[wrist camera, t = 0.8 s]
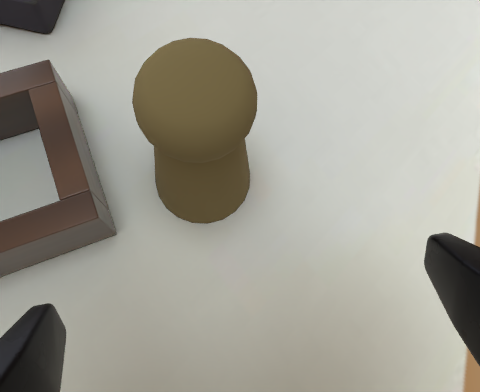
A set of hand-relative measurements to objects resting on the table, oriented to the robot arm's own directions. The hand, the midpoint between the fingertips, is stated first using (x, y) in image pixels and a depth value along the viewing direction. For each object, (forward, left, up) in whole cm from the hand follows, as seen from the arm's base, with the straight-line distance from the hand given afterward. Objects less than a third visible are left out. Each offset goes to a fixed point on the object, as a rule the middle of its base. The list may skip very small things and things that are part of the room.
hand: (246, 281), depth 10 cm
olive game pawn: (+7, +4, -15) cm, 17 cm away
